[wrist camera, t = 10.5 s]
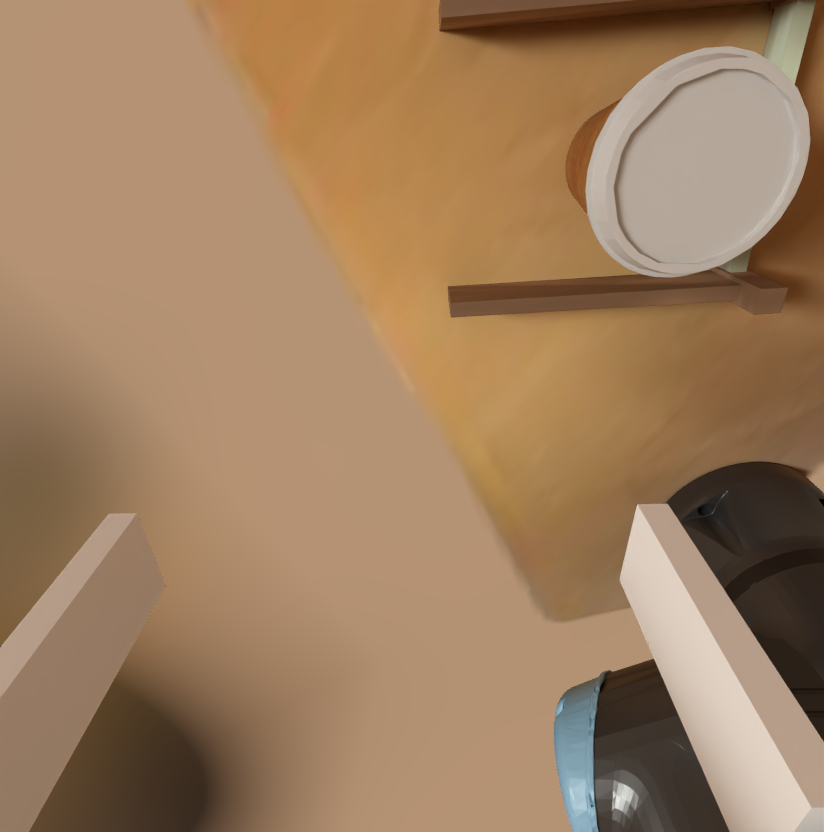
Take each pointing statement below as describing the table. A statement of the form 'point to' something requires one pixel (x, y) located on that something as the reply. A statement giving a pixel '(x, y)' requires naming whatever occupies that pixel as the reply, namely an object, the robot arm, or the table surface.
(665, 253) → the disposable coffee cup
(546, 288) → the bay
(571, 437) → the table surface
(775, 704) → the robot arm
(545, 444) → the table surface
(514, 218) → the table surface
